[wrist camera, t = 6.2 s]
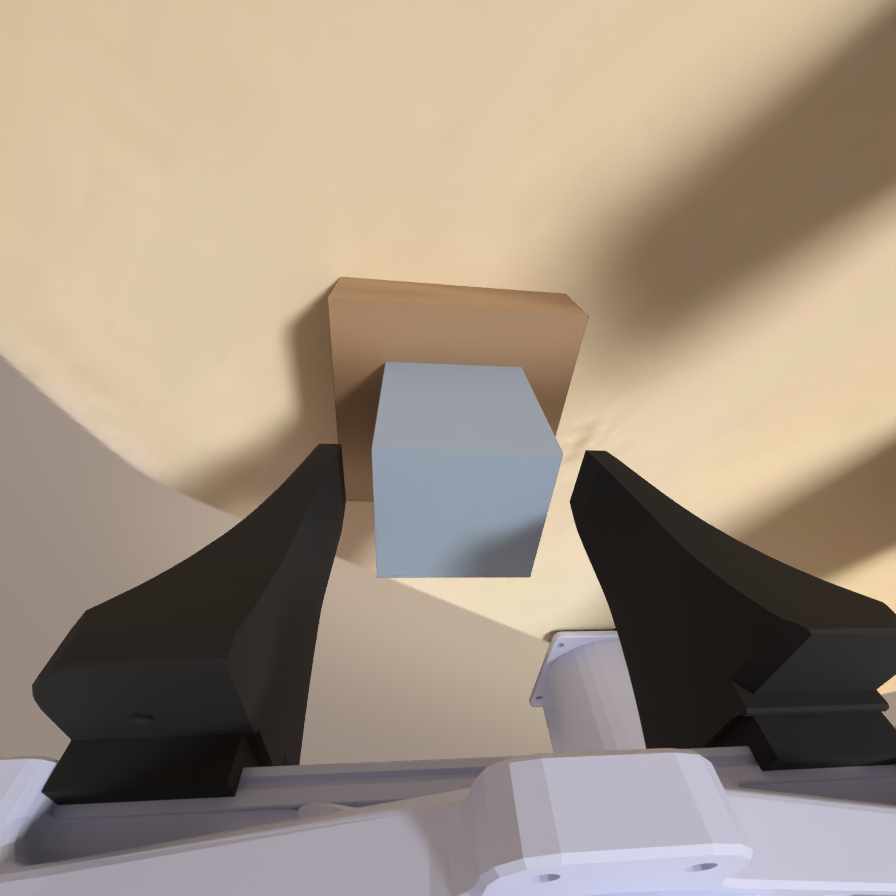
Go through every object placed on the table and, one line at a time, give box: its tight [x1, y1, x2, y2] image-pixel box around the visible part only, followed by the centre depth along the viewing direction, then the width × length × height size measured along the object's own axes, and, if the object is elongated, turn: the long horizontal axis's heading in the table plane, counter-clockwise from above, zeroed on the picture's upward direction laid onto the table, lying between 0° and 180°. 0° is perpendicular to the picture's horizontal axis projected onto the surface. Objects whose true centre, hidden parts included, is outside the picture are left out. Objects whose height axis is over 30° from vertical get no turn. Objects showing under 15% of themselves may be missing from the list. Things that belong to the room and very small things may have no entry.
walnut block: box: [328, 277, 589, 501], centre depth 16 cm, size 8×8×3 cm
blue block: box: [372, 362, 563, 578], centre depth 13 cm, size 4×4×5 cm
